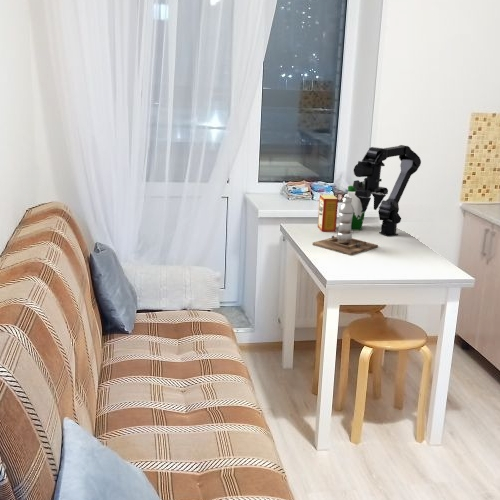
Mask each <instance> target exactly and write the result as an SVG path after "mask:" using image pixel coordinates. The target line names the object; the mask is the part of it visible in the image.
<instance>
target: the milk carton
mask: <svg viewBox="0 0 500 500" xmlns="http://www.w3.org/2000/svg"><path fill="white" fill-rule="evenodd" d="M347 188H348V189H347V195H346V197H350V198H352V200H351V201H352V202H351V205H352V206H353V209H354V213H353V217H352V224H351V230H353V231H354V230H355V231H361V230H362V227H363V223H364V220H365V214H366V212H363V210H362V205H361V201H360V199H359V198H358V197H356V196H355V191H356V190H355V188H354V187H353V185H349V186H347Z"/></svg>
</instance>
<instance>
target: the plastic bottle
mask: <svg viewBox="0 0 500 500" xmlns="http://www.w3.org/2000/svg"><path fill="white" fill-rule="evenodd" d="M351 200H352V198H350V197H347V196H344V197H343V198H342V204H341V205H339V209H338V222H339V223H338V231H337V233H336V234H337V235H336V237H337V241H338V242H339V243H343V244H346V243H350V242H351V239H352V237H353V235H352V229H351V224H352V217H353V213H354V209H353V206H352V205H351V202H352V201H351Z"/></svg>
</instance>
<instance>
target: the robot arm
mask: <svg viewBox="0 0 500 500" xmlns="http://www.w3.org/2000/svg"><path fill="white" fill-rule="evenodd" d="M392 157H398V159H399V160H400V164H399V167H400V172H399V175H398V177H397V179H396V181H395V184H394V185H393V187H392V190H391V192H390V194H389V196H388V199H386V200H384V198H385V197H386V195H388V192H389V189H388V188H387V187H384V186H380V182H382V178H381V172H382V167H385V163H384V161H386V160H387V159H388V158H392ZM421 163H422V160H421V157H420V156H419V155H418V154H417V153H416V152H415V151H414V150H412V149H411V147H410V146H409V145H403V144H400V145H396V146H389V147H384V148H383V147H376V146H371V147H369V148H368V150H367V152H366V153H365V155H364V157H362V160H358V161H357V164H356V165H354V168H353V175H354V176H355V177H357V178H364V179H363V181H360V180H359V179H358V180H353V183H352V186H353V187H354V188H355V190H356V191H355V196H356V197H358V198H359V199H360V201H361V205H362V210H363V212H365V213H366V211H367V209H368V207H369V204H370V201H371V196H372V197H373V210H375V211H378V217H379V220H380V221H382V222H381V223H382V224H381V226H380V231H379V233H378V234H381V235H383V236H386V237H392V236H398V235H399V233H397V226H398V224H399V223H401V221H402V217H401V216H400V214H399V211H400V207H399V204H400V203H399V202H400V200H401V198H402V196H403V193H404V191H405V190H406V188H407V185H408V183H409V181H410V178H411V176H412V175H413V174H415V173H416V172H417V171H418V170H419V168H420V166H421ZM377 209H378V210H377Z"/></svg>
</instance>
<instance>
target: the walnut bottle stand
mask: <svg viewBox="0 0 500 500" xmlns="http://www.w3.org/2000/svg"><path fill="white" fill-rule="evenodd" d="M312 246H314V247H315V246H316V247H319V248H323V249H327V250H329V251H333V252H334V251H335V252H337V253H340V254H343V255H348V256H353V255H356V254H359V253H362V252H363V253H364V252H367V251H369V250H373V249H376V248H378V247H379V245H378V244H375V243H372V242H368V241H365V240H364V241H363V240H361V239H356V238H352V239H351V242H350V243H346V244H343V243H339V242H338V241H337V236H335V235H331V237H330V238H326V239H322V240H318V241H314V242H312Z"/></svg>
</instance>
